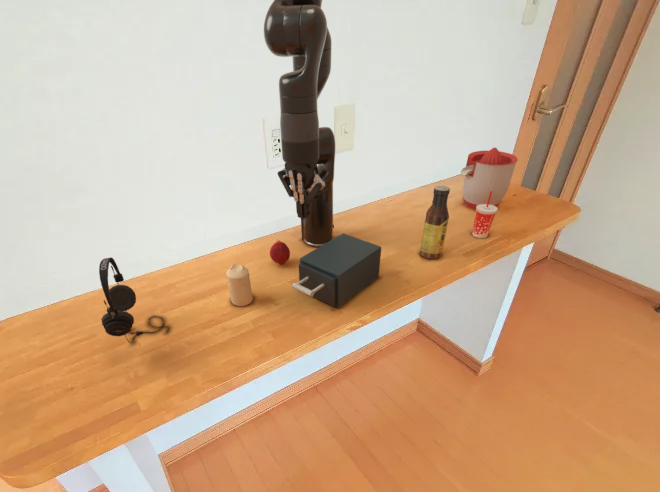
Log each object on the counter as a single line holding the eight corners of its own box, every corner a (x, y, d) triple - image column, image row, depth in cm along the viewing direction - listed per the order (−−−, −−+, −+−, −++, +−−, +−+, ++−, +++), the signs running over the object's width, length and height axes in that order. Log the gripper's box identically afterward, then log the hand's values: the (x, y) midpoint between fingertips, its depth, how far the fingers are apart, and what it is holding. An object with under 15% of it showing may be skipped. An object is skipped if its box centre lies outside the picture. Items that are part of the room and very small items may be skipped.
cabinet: (338, 308, 95) (338, 275, 89) (301, 289, 102) (299, 258, 96) (378, 277, 105) (381, 246, 99) (342, 263, 112) (343, 232, 106)
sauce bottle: (442, 260, 111) (456, 193, 98) (419, 259, 112) (430, 192, 99) (440, 249, 116) (453, 184, 103) (419, 248, 117) (429, 183, 104)
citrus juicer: (446, 198, 146) (457, 143, 133) (490, 195, 147) (505, 139, 134) (464, 215, 133) (478, 156, 121) (512, 211, 134) (530, 152, 122)
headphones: (169, 351, 85) (141, 275, 72) (115, 363, 83) (77, 286, 70) (168, 312, 96) (144, 240, 84) (121, 321, 94) (89, 249, 81)
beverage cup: (481, 229, 125) (492, 186, 116) (494, 237, 121) (507, 193, 112) (465, 232, 124) (475, 189, 115) (477, 240, 119) (489, 196, 110)
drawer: (319, 316, 91) (318, 289, 86) (285, 298, 97) (283, 272, 92) (372, 277, 103) (374, 252, 98) (339, 264, 109) (339, 239, 105)
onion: (294, 261, 113) (292, 236, 108) (285, 270, 109) (283, 246, 104) (276, 257, 115) (274, 233, 110) (267, 267, 111) (264, 242, 106)
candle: (235, 308, 96) (229, 275, 90) (228, 297, 100) (222, 264, 94) (256, 302, 98) (251, 268, 92) (248, 291, 102) (243, 258, 96)
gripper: (338, 136, 74) (336, 219, 85) (289, 126, 81) (294, 204, 92) (311, 145, 70) (313, 232, 81) (263, 134, 77) (271, 214, 88)
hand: (303, 216), depth 86 cm, fingers closed
